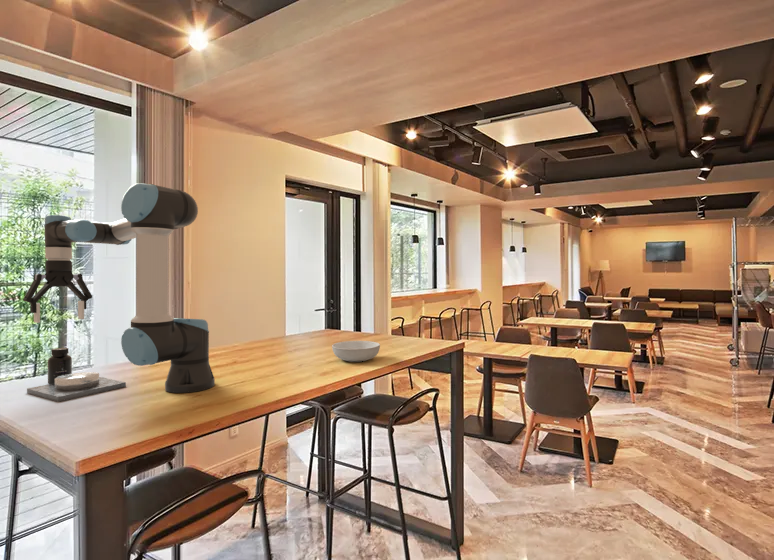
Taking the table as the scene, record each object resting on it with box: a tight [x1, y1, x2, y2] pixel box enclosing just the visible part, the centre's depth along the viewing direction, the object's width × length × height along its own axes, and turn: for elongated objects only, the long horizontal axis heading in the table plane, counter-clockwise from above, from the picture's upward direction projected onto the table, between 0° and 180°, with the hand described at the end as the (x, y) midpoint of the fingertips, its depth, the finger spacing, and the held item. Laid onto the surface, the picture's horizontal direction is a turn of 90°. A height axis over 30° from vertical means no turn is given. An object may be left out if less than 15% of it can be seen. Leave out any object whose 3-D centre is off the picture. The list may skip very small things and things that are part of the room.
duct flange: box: [26, 371, 127, 403], centre depth 146 cm, size 20×20×4 cm
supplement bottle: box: [47, 347, 73, 385], centre depth 156 cm, size 7×7×12 cm
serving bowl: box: [331, 340, 381, 363], centre depth 193 cm, size 21×21×7 cm
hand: (59, 320), depth 156 cm, fingers open, 13 cm apart
